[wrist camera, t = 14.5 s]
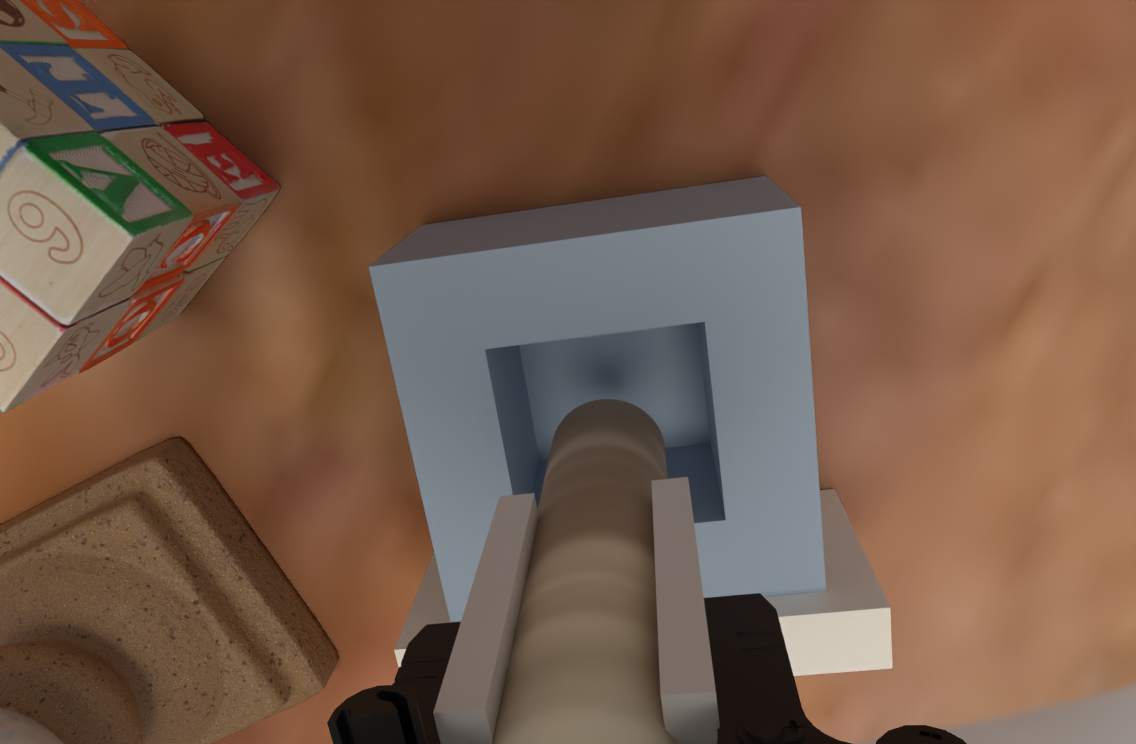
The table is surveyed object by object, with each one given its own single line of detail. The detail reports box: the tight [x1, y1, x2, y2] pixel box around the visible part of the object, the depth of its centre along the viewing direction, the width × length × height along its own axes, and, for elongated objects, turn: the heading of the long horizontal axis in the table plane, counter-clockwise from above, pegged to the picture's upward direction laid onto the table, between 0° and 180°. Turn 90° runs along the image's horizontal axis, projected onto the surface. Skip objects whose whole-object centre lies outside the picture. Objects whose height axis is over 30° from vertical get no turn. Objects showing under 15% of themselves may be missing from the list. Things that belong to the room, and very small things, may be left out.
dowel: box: [492, 399, 678, 744], centre depth 17 cm, size 3×3×14 cm
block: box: [369, 176, 826, 622], centre depth 27 cm, size 11×11×6 cm
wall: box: [394, 489, 892, 676], centre depth 29 cm, size 5×14×7 cm, turn 99°
